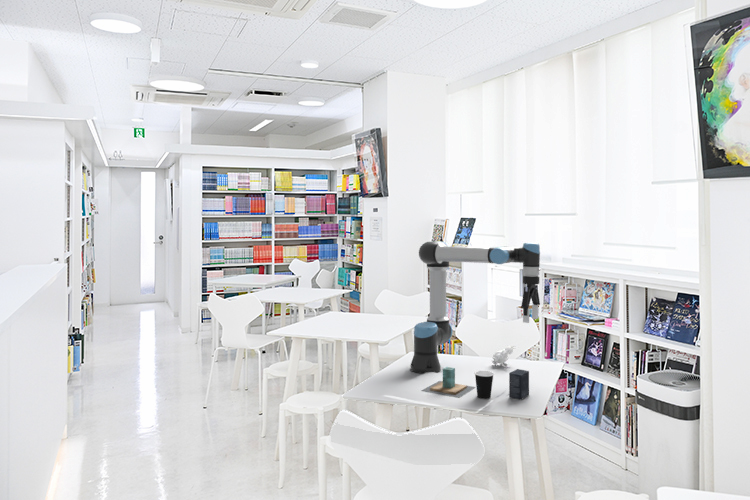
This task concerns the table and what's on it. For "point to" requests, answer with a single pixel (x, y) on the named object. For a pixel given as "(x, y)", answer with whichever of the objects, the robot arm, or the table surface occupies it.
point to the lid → (448, 383)
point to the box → (518, 384)
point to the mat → (447, 393)
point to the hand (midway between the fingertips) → (530, 320)
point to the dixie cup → (484, 384)
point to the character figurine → (502, 356)
